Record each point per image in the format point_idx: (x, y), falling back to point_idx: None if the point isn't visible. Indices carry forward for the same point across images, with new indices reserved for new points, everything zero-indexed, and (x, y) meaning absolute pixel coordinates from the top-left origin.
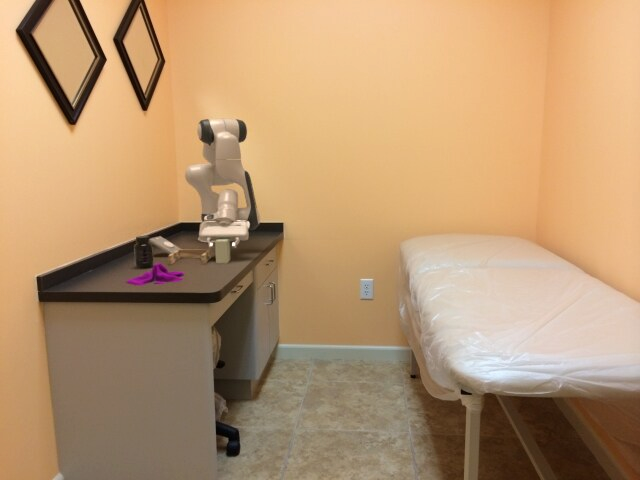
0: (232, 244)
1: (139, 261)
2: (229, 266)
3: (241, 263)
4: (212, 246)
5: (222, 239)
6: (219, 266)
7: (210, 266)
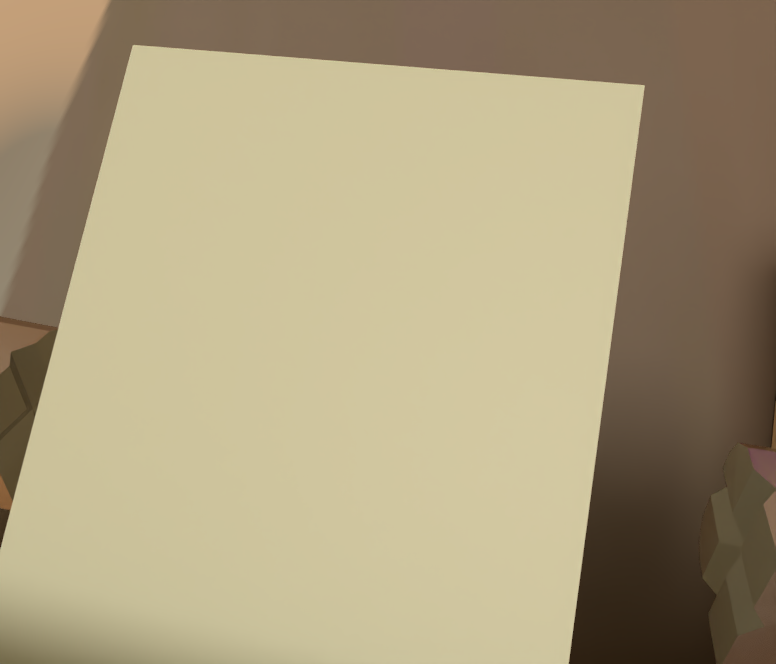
0: (8, 350)
1: None
2: (315, 37)
3: None
4: (733, 482)
5: (276, 630)
6: (476, 57)
7: (637, 76)
